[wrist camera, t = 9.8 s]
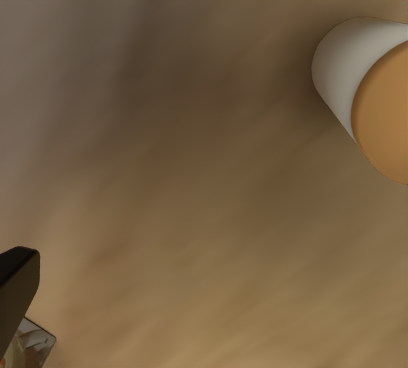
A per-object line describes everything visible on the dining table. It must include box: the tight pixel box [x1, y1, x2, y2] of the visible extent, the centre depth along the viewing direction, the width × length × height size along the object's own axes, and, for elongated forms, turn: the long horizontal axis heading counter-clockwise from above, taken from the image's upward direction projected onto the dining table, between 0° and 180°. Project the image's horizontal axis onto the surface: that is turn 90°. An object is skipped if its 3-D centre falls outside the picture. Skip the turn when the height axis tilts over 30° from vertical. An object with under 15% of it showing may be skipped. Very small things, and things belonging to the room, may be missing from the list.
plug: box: [311, 17, 408, 185], centre depth 14 cm, size 4×4×8 cm
